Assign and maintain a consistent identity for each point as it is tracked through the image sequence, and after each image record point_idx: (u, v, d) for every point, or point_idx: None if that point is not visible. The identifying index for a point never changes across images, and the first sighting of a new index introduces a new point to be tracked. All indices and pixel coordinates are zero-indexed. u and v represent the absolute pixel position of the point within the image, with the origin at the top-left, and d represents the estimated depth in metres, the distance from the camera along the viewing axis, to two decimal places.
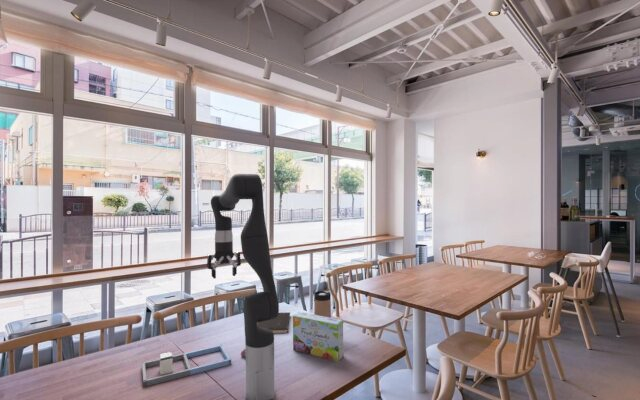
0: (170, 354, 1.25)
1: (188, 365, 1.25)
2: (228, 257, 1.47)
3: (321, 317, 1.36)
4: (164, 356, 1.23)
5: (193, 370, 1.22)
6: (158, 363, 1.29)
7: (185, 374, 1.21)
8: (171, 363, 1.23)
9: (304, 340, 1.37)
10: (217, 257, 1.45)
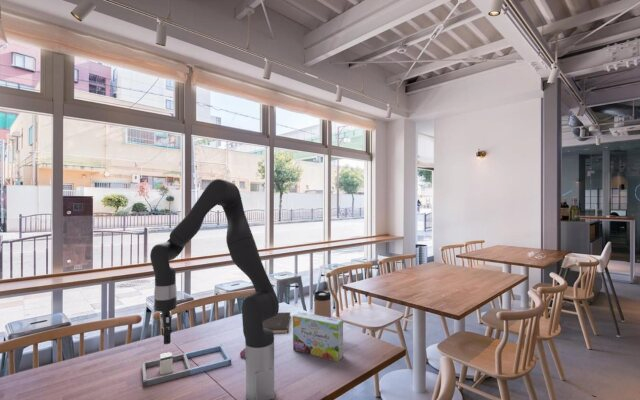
0: (170, 354, 1.25)
1: (188, 365, 1.25)
2: None
3: (321, 317, 1.36)
4: (164, 356, 1.23)
5: (193, 370, 1.22)
6: (158, 363, 1.29)
7: (185, 374, 1.21)
8: (171, 363, 1.23)
9: (304, 340, 1.37)
10: (169, 317, 1.22)
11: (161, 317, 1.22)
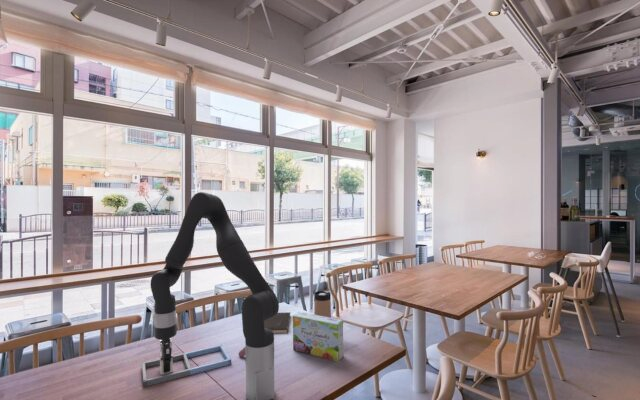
0: None
1: (188, 365, 1.25)
2: None
3: (321, 317, 1.36)
4: None
5: (193, 370, 1.22)
6: (158, 363, 1.29)
7: (185, 374, 1.21)
8: (171, 363, 1.23)
9: (304, 340, 1.37)
10: (169, 344, 1.22)
11: (161, 345, 1.22)
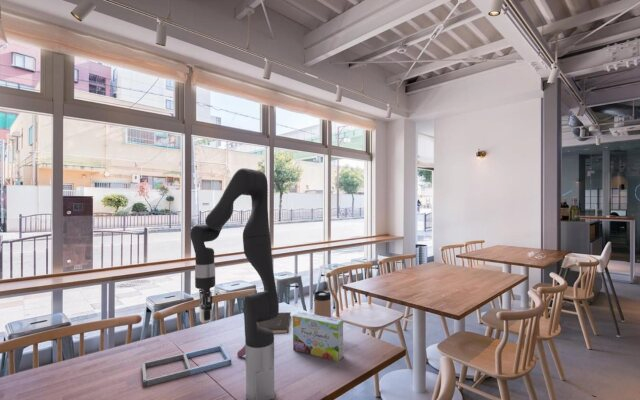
0: None
1: (188, 365, 1.25)
2: None
3: (321, 317, 1.36)
4: None
5: (193, 370, 1.22)
6: (158, 363, 1.29)
7: (185, 374, 1.21)
8: (211, 312, 1.30)
9: (304, 340, 1.37)
10: None
11: (202, 295, 1.29)
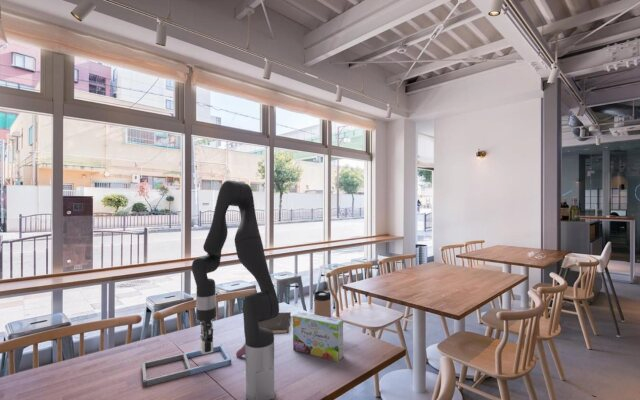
0: None
1: (188, 365, 1.25)
2: None
3: (321, 317, 1.36)
4: None
5: (193, 370, 1.22)
6: (158, 363, 1.29)
7: (185, 374, 1.21)
8: (212, 343, 1.31)
9: (304, 340, 1.37)
10: None
11: (203, 327, 1.29)
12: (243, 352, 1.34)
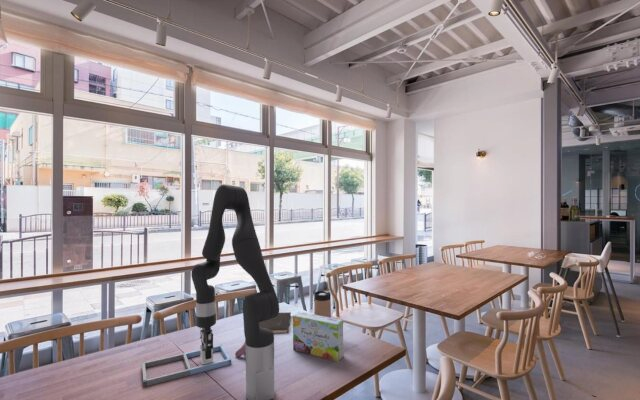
0: None
1: (188, 365, 1.25)
2: None
3: (321, 317, 1.36)
4: None
5: (193, 370, 1.22)
6: (158, 363, 1.29)
7: (185, 374, 1.21)
8: (211, 353, 1.31)
9: (304, 340, 1.37)
10: None
11: (202, 333, 1.29)
12: (242, 352, 1.34)
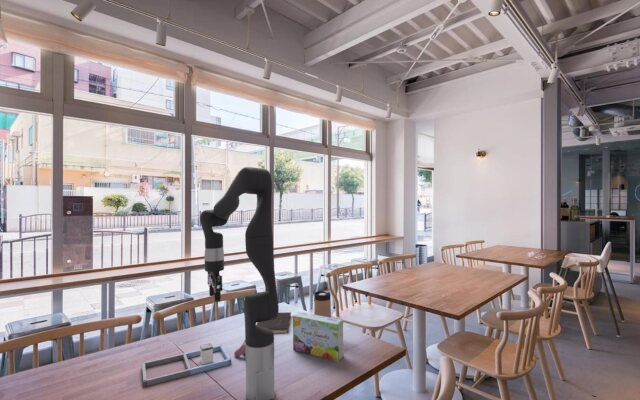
0: (210, 345, 1.32)
1: (188, 365, 1.25)
2: None
3: (321, 317, 1.36)
4: (205, 347, 1.30)
5: (193, 370, 1.22)
6: (158, 363, 1.29)
7: (185, 374, 1.21)
8: (211, 353, 1.31)
9: (304, 340, 1.37)
10: None
11: (211, 277, 1.33)
12: (241, 352, 1.34)
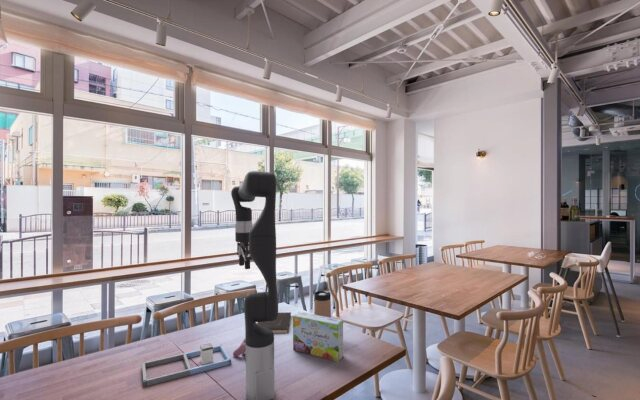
0: (210, 345, 1.32)
1: (188, 365, 1.25)
2: None
3: (321, 317, 1.36)
4: (205, 347, 1.30)
5: (193, 370, 1.22)
6: (158, 363, 1.29)
7: (185, 374, 1.21)
8: (211, 353, 1.31)
9: (304, 340, 1.37)
10: None
11: (241, 247, 1.47)
12: (240, 352, 1.34)
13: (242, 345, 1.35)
